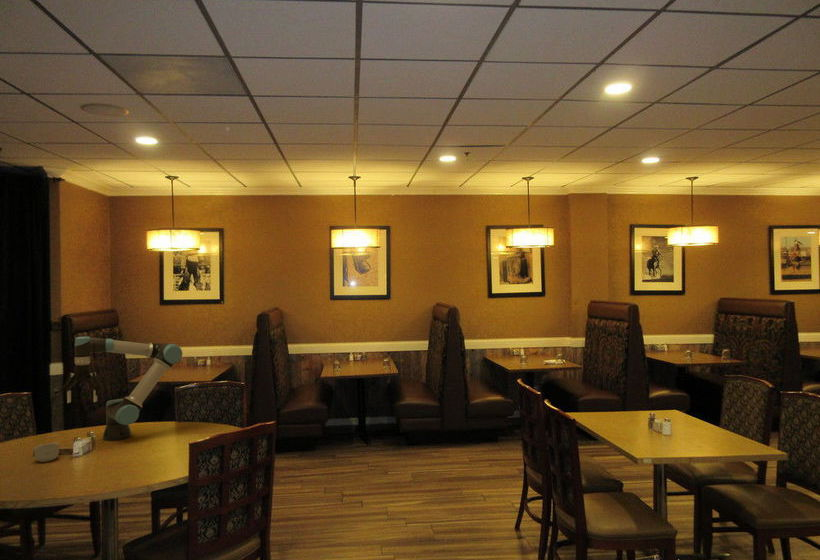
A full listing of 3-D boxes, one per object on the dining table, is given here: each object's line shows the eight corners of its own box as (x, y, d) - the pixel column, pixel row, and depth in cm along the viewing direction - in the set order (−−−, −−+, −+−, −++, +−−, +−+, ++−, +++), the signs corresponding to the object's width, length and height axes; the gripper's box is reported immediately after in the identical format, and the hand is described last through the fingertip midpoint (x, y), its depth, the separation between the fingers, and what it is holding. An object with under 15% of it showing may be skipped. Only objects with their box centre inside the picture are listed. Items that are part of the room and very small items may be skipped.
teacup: (46, 464, 276) (46, 448, 276) (28, 463, 278) (28, 447, 279) (68, 456, 290) (68, 441, 290) (51, 455, 292) (51, 440, 292)
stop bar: (79, 452, 296) (79, 446, 296) (77, 454, 293) (77, 448, 294) (35, 454, 292) (35, 448, 293) (32, 456, 290) (32, 450, 290)
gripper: (55, 365, 297) (54, 404, 297) (103, 364, 301) (103, 402, 301) (61, 363, 304) (61, 401, 304) (108, 362, 308) (108, 399, 308)
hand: (82, 402), depth 302 cm, fingers open, 13 cm apart
